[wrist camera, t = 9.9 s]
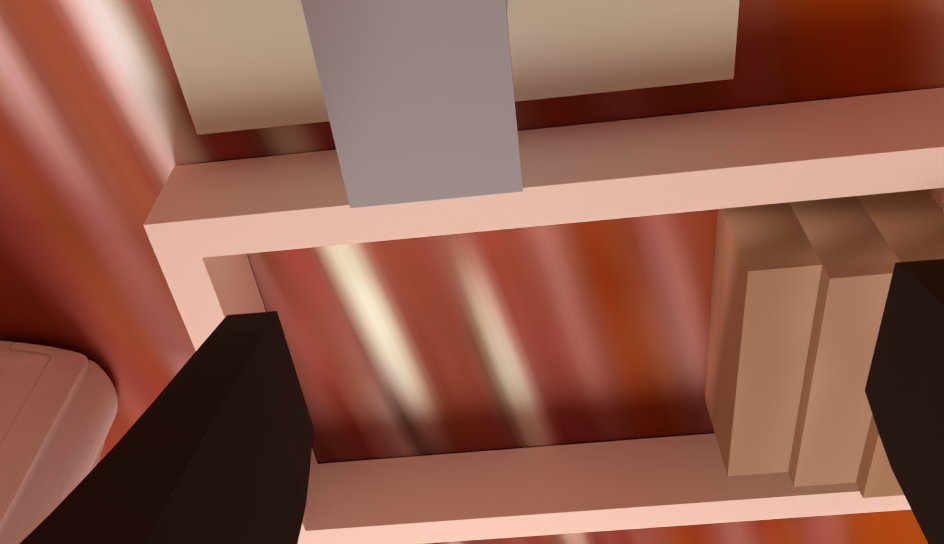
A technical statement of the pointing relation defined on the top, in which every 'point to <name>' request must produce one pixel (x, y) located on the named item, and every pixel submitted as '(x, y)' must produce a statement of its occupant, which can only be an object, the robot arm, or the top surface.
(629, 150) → the rack
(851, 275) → the offcut stack
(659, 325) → the top surface
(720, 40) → the mat
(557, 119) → the top surface
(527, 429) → the top surface
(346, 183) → the grey flat block
